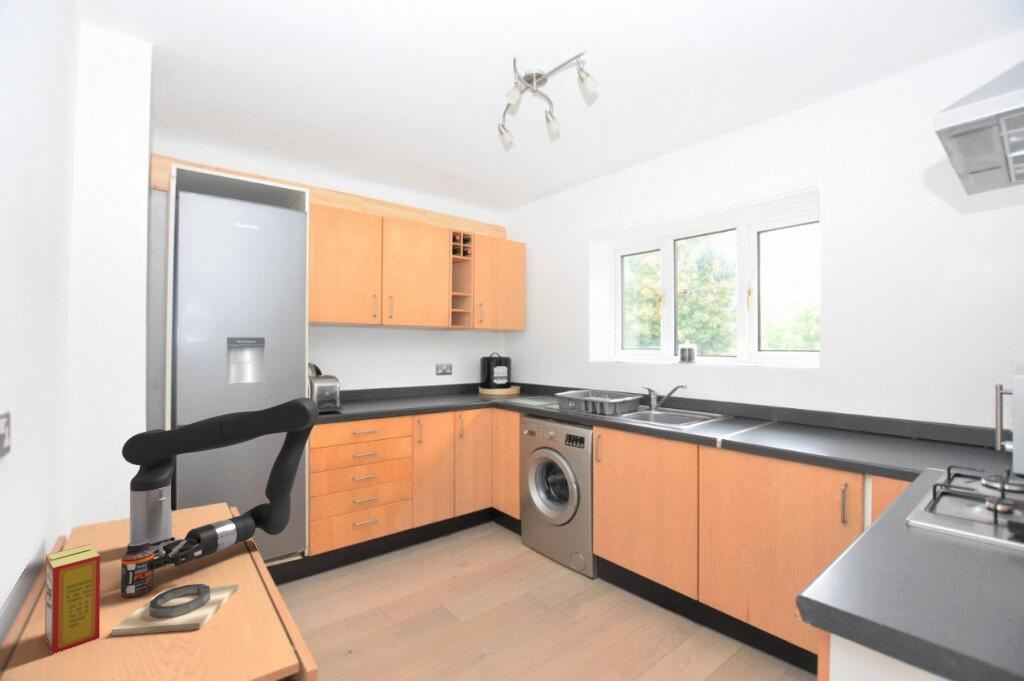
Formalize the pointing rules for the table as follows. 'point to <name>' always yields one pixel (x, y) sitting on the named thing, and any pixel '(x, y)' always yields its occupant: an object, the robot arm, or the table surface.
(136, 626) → the birch board
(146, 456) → the robot arm
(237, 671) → the table surface
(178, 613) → the ring collar
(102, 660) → the table surface
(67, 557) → the baking soda box
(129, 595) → the supplement bottle
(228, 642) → the table surface
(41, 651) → the table surface
